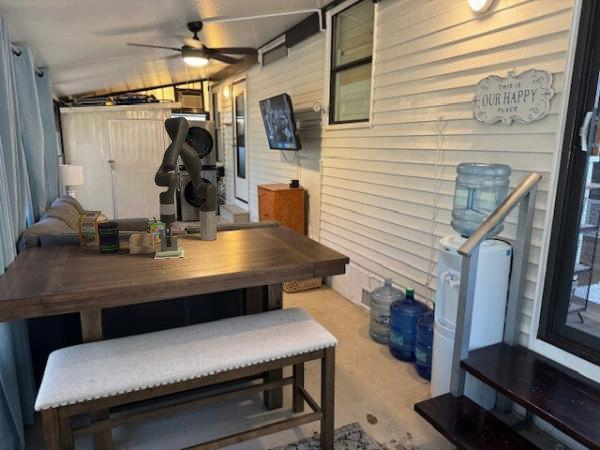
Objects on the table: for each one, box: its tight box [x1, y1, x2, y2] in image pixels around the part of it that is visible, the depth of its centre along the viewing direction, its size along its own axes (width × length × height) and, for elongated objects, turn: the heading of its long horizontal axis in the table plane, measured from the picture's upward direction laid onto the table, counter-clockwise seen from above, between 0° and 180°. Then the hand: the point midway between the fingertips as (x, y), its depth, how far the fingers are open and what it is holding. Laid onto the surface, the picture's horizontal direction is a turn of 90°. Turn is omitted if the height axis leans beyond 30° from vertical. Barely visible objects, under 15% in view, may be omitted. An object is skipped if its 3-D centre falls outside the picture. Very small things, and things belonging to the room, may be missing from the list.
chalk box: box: [146, 216, 166, 244], centre depth 231 cm, size 9×9×15 cm
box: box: [128, 233, 155, 255], centre depth 210 cm, size 11×11×8 cm
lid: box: [155, 235, 183, 257], centre depth 203 cm, size 12×12×9 cm
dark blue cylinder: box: [98, 221, 121, 255], centre depth 207 cm, size 10×10×15 cm
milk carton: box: [77, 209, 109, 248], centre depth 222 cm, size 11×11×19 cm
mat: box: [153, 249, 185, 260], centre depth 204 cm, size 14×14×1 cm
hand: (169, 245), depth 203 cm, fingers open, 5 cm apart
